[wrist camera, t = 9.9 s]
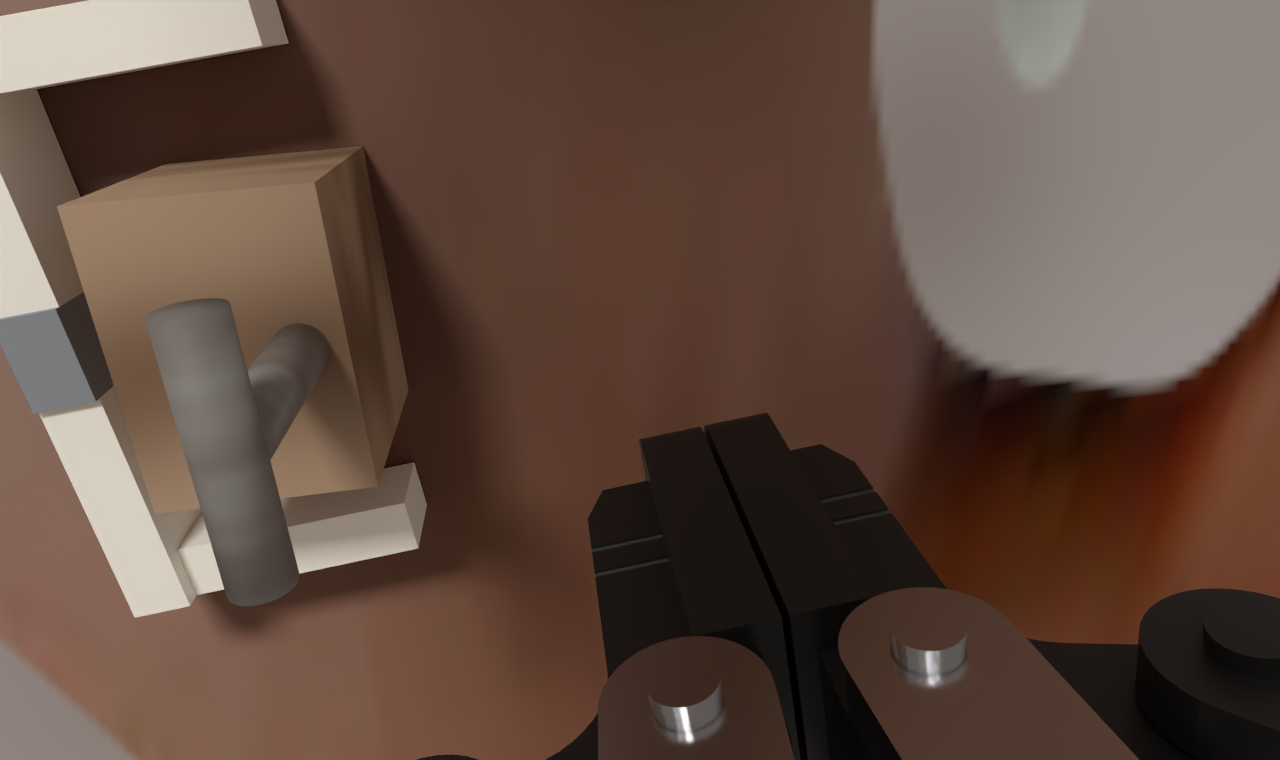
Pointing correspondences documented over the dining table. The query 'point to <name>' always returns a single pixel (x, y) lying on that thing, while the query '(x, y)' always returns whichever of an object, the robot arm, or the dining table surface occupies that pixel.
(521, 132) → the dining table surface
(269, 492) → the tan block
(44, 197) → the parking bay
